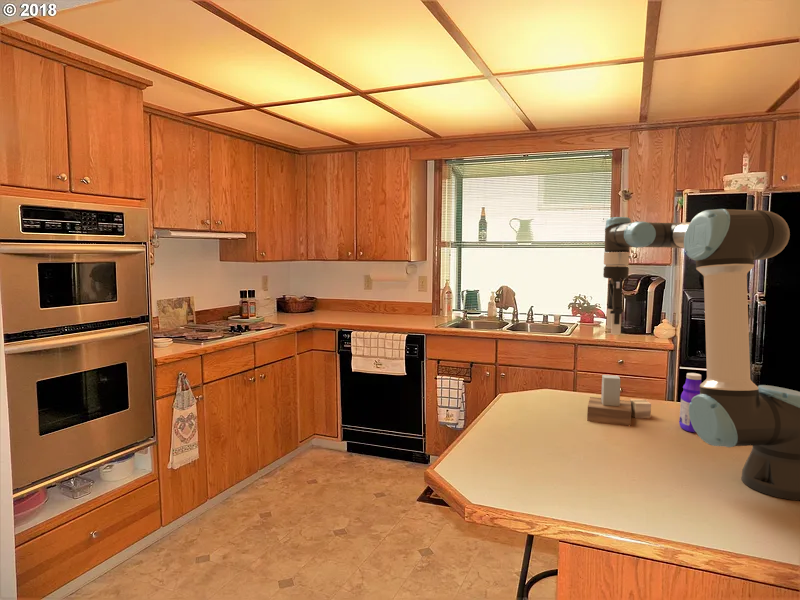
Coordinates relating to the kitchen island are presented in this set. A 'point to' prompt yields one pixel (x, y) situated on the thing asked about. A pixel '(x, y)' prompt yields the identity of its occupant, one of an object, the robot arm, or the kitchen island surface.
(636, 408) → the maple cube
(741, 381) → the robot arm
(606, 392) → the pale gray block
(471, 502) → the kitchen island surface
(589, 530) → the kitchen island surface
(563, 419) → the kitchen island surface
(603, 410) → the walnut block
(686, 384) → the bottle
